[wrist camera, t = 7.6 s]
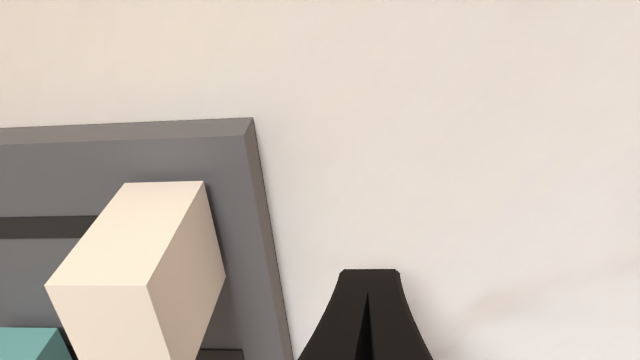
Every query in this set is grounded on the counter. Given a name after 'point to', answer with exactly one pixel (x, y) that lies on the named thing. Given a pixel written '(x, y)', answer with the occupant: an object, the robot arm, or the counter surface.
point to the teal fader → (32, 344)
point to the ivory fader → (142, 276)
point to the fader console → (102, 185)
